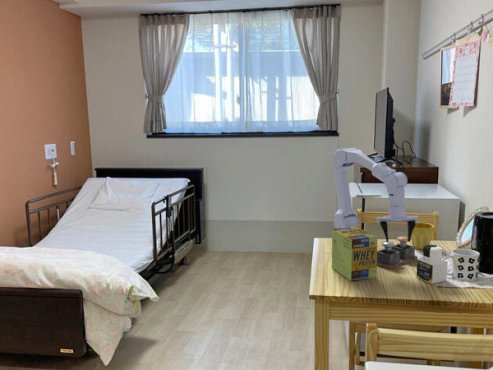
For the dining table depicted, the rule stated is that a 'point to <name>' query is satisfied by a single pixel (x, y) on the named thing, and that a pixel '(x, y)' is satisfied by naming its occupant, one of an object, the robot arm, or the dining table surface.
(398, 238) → the terracotta plunger
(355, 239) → the protein box
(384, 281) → the dining table surface
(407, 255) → the wooden cubby shelf
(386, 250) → the steel plunger
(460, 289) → the dining table surface
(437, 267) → the medicine bottle
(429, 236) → the plant pot
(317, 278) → the dining table surface
